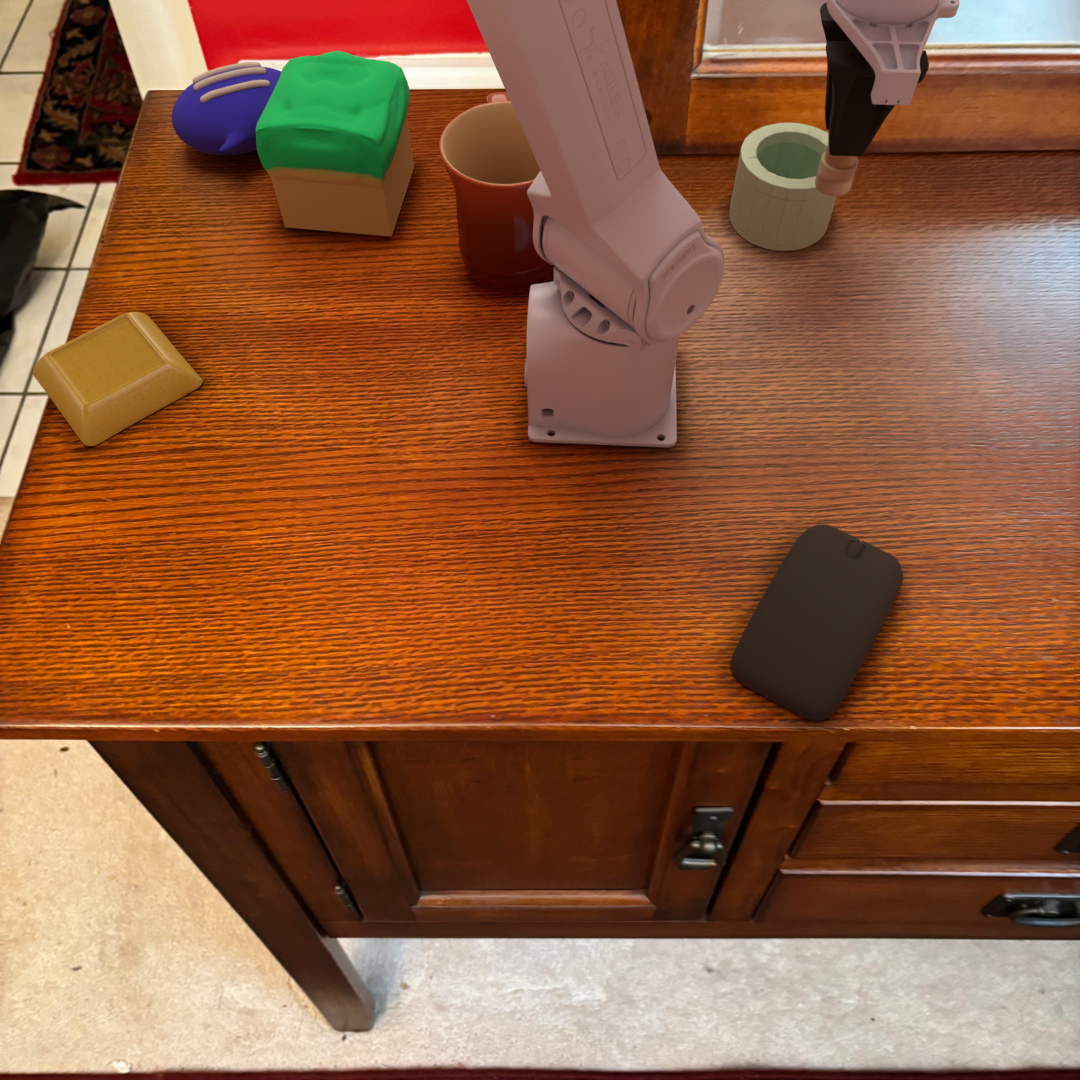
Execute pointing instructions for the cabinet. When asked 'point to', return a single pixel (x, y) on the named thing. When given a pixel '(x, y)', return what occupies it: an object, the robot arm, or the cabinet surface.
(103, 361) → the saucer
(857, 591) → the computer mouse
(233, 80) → the decorative object
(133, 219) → the cabinet surface
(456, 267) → the cabinet surface
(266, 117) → the cake
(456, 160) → the mug
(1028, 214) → the cabinet surface
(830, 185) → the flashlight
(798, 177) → the jar
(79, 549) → the cabinet surface
